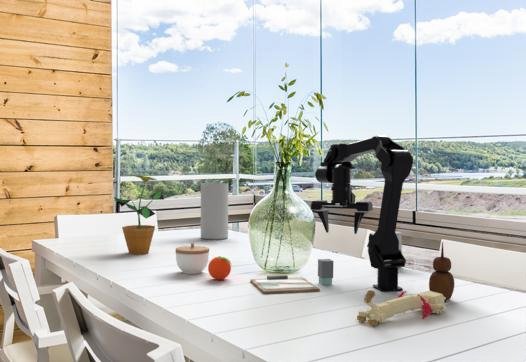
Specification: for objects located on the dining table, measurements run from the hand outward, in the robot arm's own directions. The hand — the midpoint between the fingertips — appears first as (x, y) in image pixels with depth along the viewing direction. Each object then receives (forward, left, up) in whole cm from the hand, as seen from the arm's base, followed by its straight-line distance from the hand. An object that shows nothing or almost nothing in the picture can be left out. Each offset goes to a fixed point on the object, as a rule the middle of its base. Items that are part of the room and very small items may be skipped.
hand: (341, 233), depth 184 cm
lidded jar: (+14, +45, -14) cm, 49 cm away
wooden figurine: (-36, -14, -14) cm, 41 cm away
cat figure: (-49, +3, -14) cm, 51 cm away
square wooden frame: (-12, +22, -13) cm, 28 cm away
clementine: (+1, +38, -14) cm, 41 cm away
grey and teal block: (-11, +9, -13) cm, 19 cm away
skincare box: (+9, -22, -14) cm, 27 cm away
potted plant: (+56, +60, -14) cm, 83 cm away
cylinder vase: (+92, +25, -14) cm, 97 cm away
